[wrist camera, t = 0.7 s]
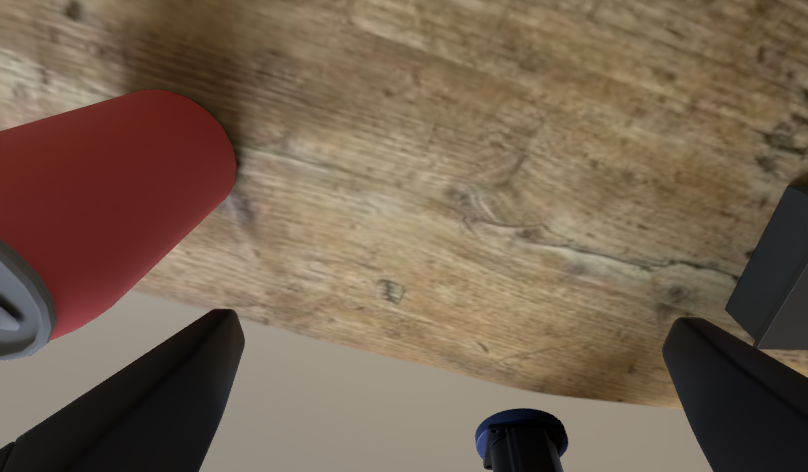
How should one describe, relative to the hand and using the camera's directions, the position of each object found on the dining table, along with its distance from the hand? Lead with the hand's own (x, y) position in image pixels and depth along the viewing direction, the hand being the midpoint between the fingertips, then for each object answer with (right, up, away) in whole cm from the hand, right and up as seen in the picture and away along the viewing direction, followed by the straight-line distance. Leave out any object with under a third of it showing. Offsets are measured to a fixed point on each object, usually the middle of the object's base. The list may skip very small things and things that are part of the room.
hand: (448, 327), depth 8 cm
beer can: (-13, +7, +13) cm, 20 cm away
